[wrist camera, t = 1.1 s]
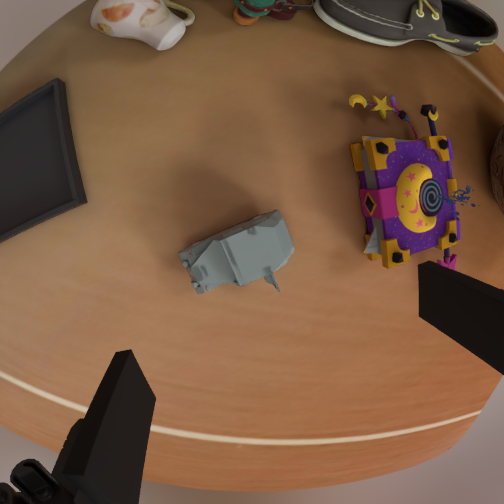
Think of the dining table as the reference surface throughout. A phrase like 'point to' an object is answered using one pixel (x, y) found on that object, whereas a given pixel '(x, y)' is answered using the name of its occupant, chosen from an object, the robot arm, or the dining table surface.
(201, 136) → the dining table surface
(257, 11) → the binoculars
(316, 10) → the boat shoe
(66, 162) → the tray
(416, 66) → the dining table surface
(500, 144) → the bowl
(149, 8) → the mug
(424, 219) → the purple toy
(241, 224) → the toy car
